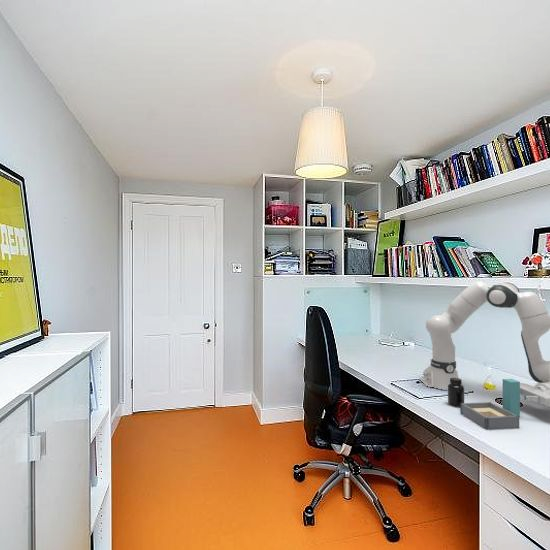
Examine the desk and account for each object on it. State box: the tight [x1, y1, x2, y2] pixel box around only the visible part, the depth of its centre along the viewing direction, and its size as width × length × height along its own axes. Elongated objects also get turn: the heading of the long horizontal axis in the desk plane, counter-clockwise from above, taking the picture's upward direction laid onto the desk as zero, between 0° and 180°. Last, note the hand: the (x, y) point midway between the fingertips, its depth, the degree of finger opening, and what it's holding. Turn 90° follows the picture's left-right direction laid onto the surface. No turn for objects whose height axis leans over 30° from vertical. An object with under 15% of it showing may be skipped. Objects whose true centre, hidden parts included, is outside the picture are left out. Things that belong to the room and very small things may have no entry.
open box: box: [459, 401, 520, 431], centre depth 147 cm, size 16×14×4 cm
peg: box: [502, 378, 521, 418], centre depth 152 cm, size 4×4×15 cm
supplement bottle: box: [447, 377, 465, 408], centre depth 164 cm, size 7×7×12 cm
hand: (516, 394), depth 153 cm, fingers open, 8 cm apart
